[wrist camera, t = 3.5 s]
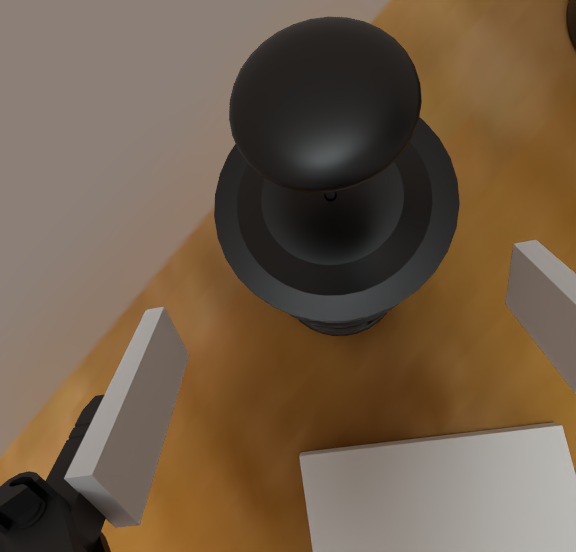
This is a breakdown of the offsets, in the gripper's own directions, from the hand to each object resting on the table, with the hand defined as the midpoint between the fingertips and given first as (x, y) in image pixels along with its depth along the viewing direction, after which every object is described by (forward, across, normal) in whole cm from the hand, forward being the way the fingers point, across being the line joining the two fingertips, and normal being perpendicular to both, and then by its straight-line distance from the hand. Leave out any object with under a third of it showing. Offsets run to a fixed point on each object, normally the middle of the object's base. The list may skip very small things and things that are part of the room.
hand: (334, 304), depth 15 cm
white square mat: (-2, +4, -24) cm, 24 cm away
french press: (+14, +1, -8) cm, 16 cm away
